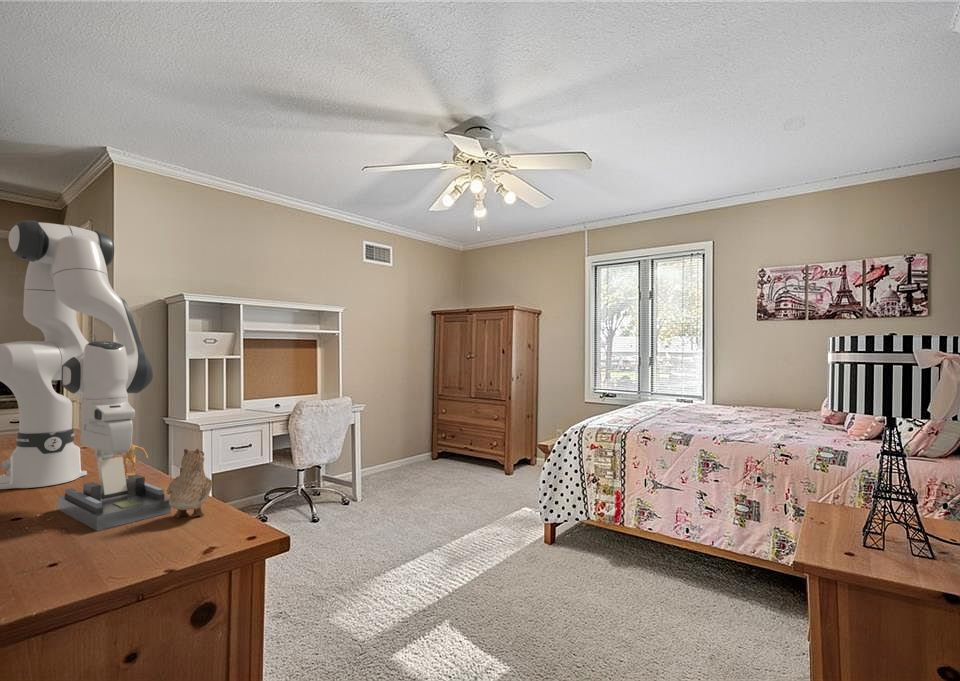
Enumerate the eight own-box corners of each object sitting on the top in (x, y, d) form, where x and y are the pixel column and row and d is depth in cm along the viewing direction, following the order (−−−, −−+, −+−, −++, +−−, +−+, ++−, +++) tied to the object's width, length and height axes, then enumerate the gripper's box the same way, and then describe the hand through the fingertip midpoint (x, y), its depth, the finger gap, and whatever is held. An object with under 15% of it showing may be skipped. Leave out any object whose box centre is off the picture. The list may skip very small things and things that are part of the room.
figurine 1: (109, 492, 126) (110, 446, 127) (109, 487, 131) (110, 442, 131) (148, 487, 132) (149, 442, 132) (146, 482, 136) (147, 439, 136)
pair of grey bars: (64, 497, 112) (64, 488, 113) (129, 484, 123) (129, 476, 123) (97, 513, 102) (97, 503, 102) (164, 498, 112) (164, 489, 112)
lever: (101, 500, 111) (96, 462, 113) (125, 494, 115) (120, 458, 117) (104, 498, 110) (98, 460, 112) (128, 493, 114) (123, 456, 116)
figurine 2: (221, 510, 114) (223, 445, 114) (197, 525, 104) (198, 454, 104) (182, 509, 114) (184, 444, 114) (154, 524, 104) (156, 453, 104)
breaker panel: (58, 509, 113) (58, 479, 113) (128, 495, 125) (128, 467, 125) (96, 531, 100) (97, 496, 100) (171, 512, 112) (171, 481, 112)
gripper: (72, 408, 120) (71, 465, 119) (106, 414, 108) (105, 477, 108) (103, 405, 125) (102, 460, 125) (138, 411, 113) (137, 471, 113)
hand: (104, 468), depth 116 cm, fingers closed
